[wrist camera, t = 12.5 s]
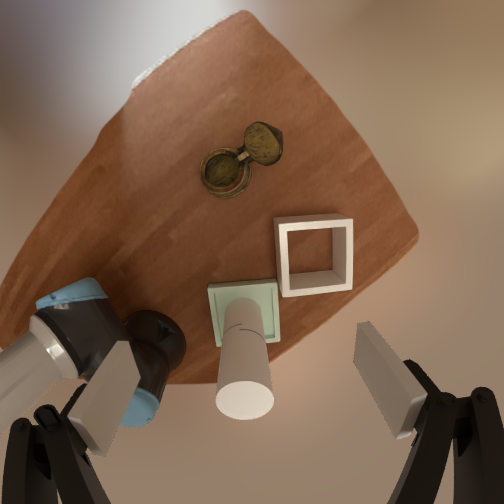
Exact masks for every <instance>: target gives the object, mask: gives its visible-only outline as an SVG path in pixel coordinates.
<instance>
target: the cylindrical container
mask: <svg viewBox="0 0 504 504" xmlns="http://www.w3.org/2000/svg"><path fill="white" fill-rule="evenodd" d="M273 403H274V396H273V389H272V383H271V375H270V368H269V361H268V354H267V347H266V340H265V333H264V327H263V320H262V313H261V308H260V306H259V305H258V303H257V302H256V301H254V300H252V299H250V298H246V297H240V298H237V299H234V300H233V301H231V302H230V303H229V304H228V306H227V308H226V312H225V320H224V328H223V337H222V346H221V354H220V364H219V373H218V382H217V392H216V405H217V407H218V408H219V410H220V411H221V412H222V413H223V414H225V415H227V416H229V417H231V418H234V419H241V420H250V419H255V418H258V417H261V416H263V415H264V414H266V413H267V412H268V411H269V410H270V409H271V408H272V406H273Z"/></svg>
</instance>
